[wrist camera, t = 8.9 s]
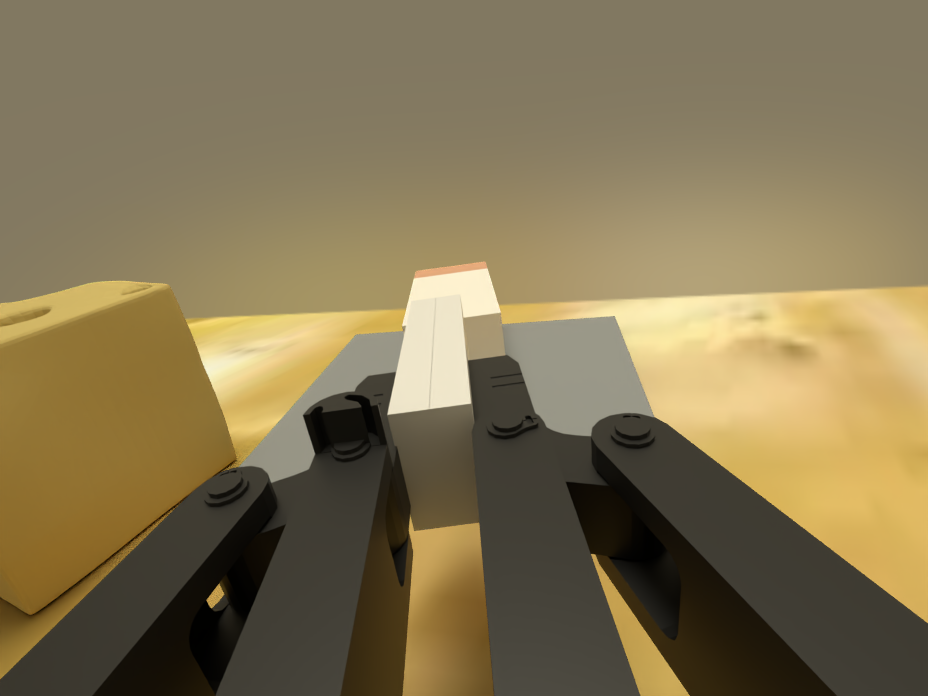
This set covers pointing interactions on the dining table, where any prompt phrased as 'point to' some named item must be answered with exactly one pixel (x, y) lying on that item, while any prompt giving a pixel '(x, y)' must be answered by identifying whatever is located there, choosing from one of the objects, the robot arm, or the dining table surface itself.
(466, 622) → the dining table surface
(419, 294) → the tall block
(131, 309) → the cheese
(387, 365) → the slate mat
